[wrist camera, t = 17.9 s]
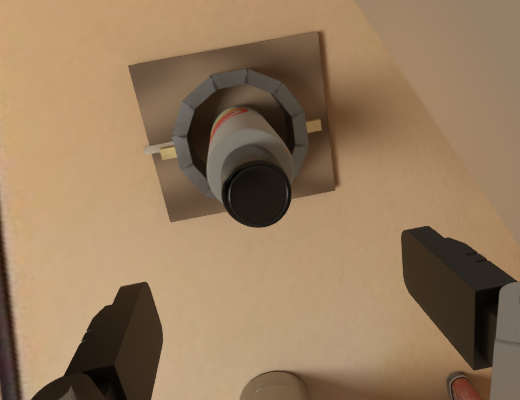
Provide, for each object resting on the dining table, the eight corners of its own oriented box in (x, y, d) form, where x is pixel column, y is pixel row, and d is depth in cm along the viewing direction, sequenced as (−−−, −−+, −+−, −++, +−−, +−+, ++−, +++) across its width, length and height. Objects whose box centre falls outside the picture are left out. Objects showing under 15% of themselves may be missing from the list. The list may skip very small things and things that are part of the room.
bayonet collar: (318, 175, 41) (329, 187, 37) (180, 201, 41) (176, 217, 37) (304, 57, 37) (314, 56, 33) (150, 85, 37) (141, 87, 33)
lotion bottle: (199, 125, 38) (180, 184, 20) (247, 93, 38) (274, 120, 19) (232, 171, 40) (242, 265, 21) (278, 141, 40) (330, 210, 21)
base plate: (332, 187, 43) (335, 190, 42) (166, 219, 43) (164, 224, 41) (315, 32, 38) (318, 31, 36) (124, 66, 37) (121, 66, 36)
